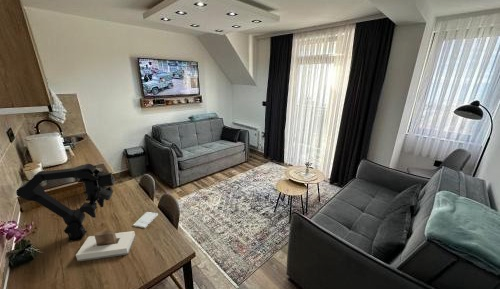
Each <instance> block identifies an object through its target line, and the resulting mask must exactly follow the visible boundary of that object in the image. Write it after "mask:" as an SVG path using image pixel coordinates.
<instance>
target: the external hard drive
mask: <svg viewBox="0 0 500 289" xmlns="http://www.w3.org/2000/svg"><path fill="white" fill-rule="evenodd" d="M158 215H159V213H157V212H150V211H146V212H144V214H142V216H140V218H139V219H138V220H136V221H135V223H134V224H132V227H136V228H142V229H146V228H147V227H148V226H149V225H150V224H151V223H152V221H154V220H155V218H157V216H158ZM148 224H149V225H148Z"/></svg>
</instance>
